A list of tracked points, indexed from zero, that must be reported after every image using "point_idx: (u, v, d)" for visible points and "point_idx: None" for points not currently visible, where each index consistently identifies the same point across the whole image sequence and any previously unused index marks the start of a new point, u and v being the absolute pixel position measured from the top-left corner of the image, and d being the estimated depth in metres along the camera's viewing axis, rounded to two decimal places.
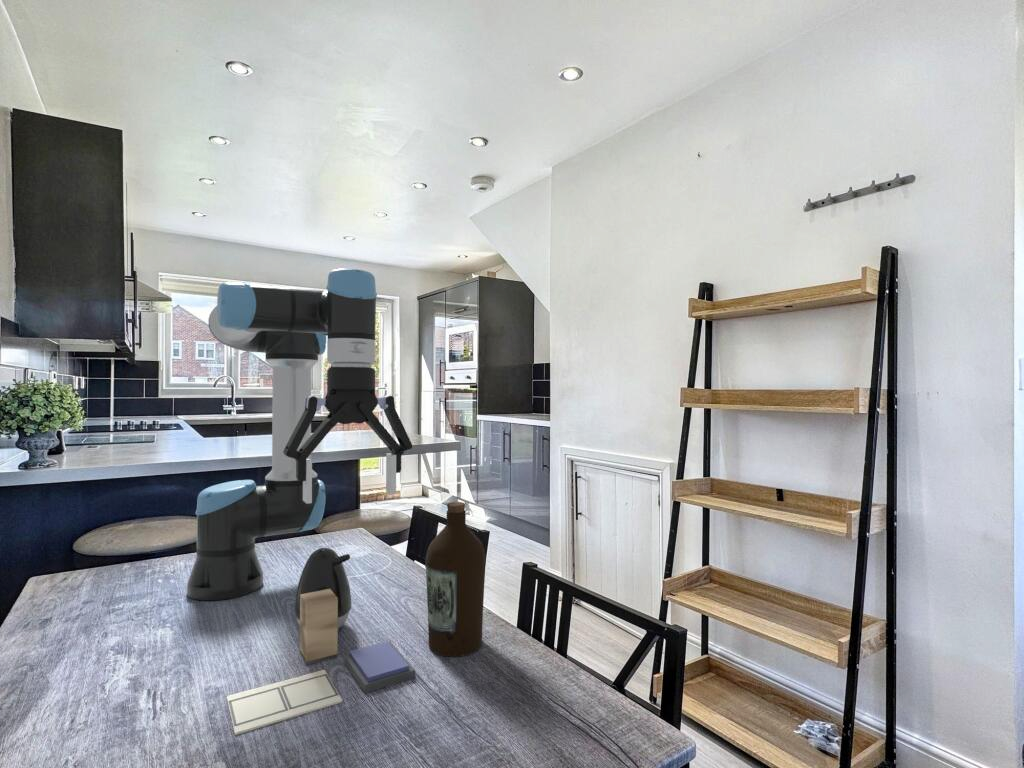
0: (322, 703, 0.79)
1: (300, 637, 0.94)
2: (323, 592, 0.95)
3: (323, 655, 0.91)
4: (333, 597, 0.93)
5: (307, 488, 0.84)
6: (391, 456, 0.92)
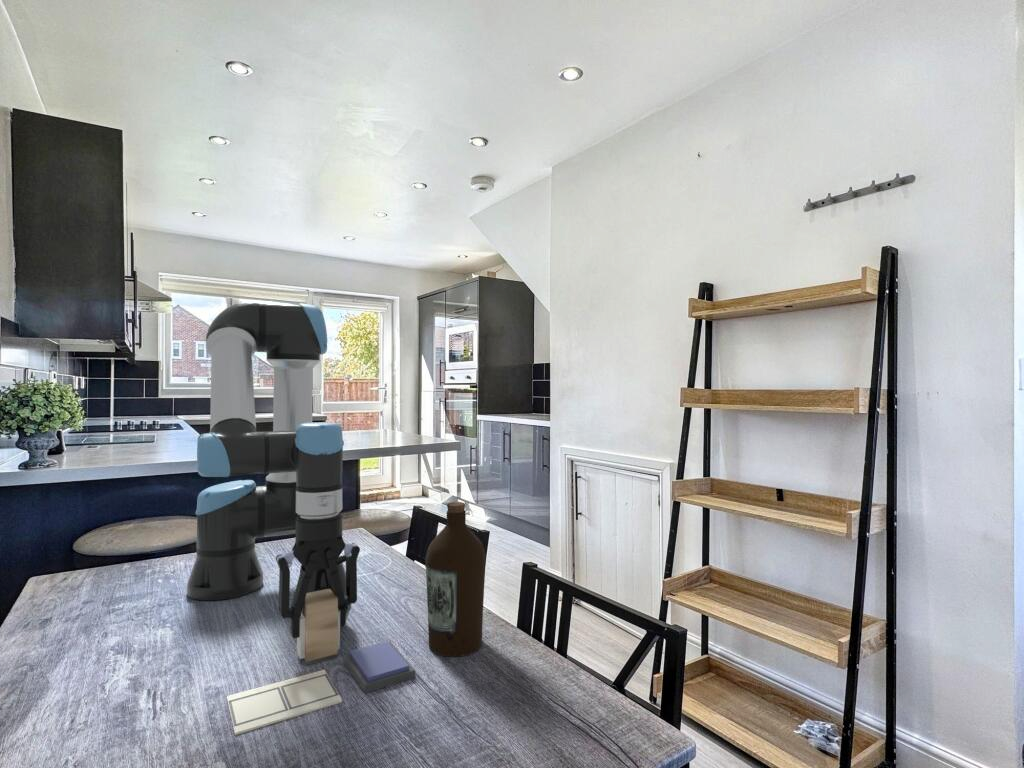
0: (322, 703, 0.79)
1: None
2: (323, 592, 0.95)
3: (323, 655, 0.91)
4: (333, 597, 0.93)
5: (301, 644, 0.90)
6: None
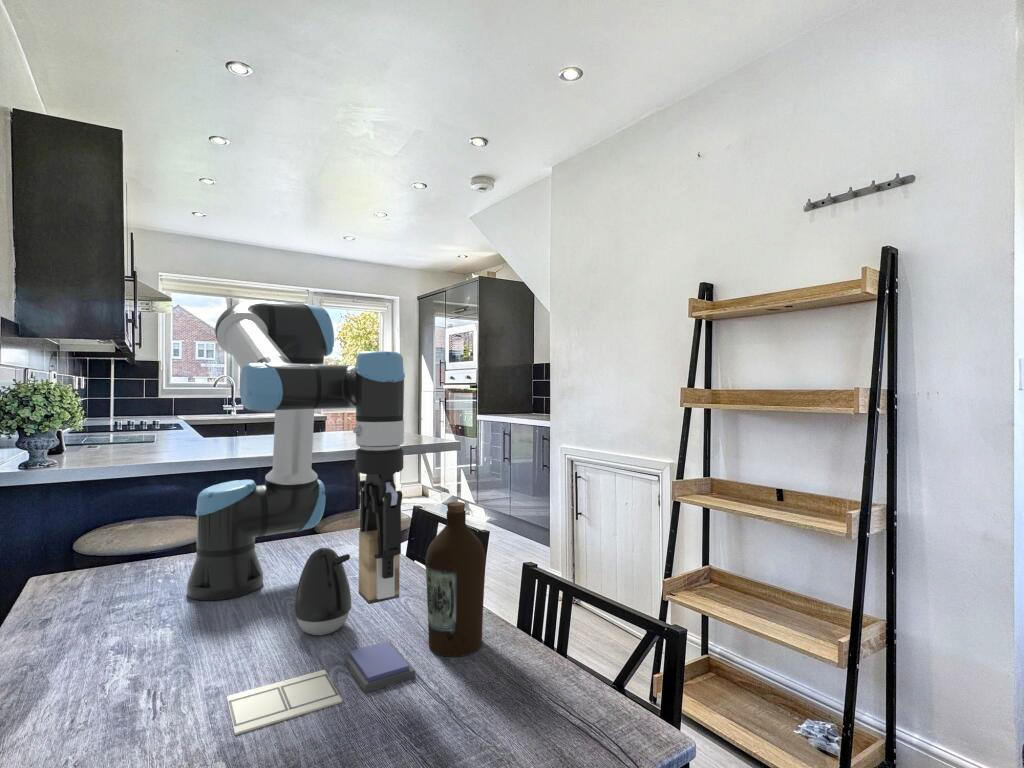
0: (322, 703, 0.79)
1: None
2: None
3: (364, 593, 0.87)
4: (370, 538, 0.86)
5: None
6: (378, 557, 0.86)
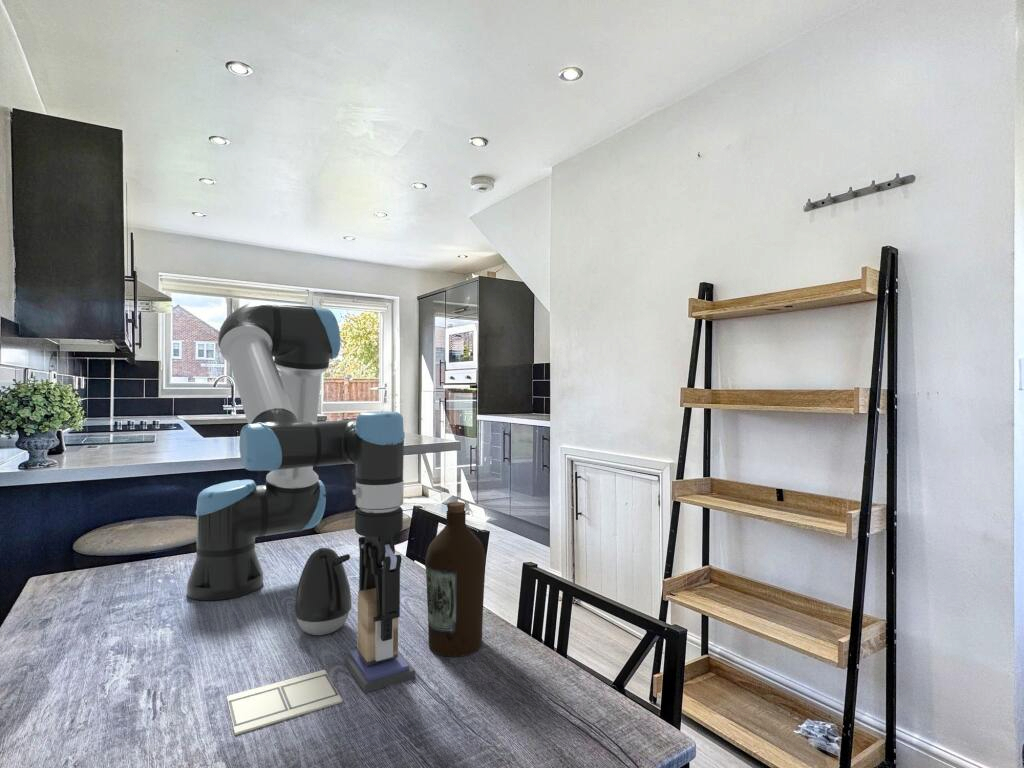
0: (322, 703, 0.79)
1: None
2: None
3: (362, 653, 0.87)
4: (369, 600, 0.86)
5: None
6: None
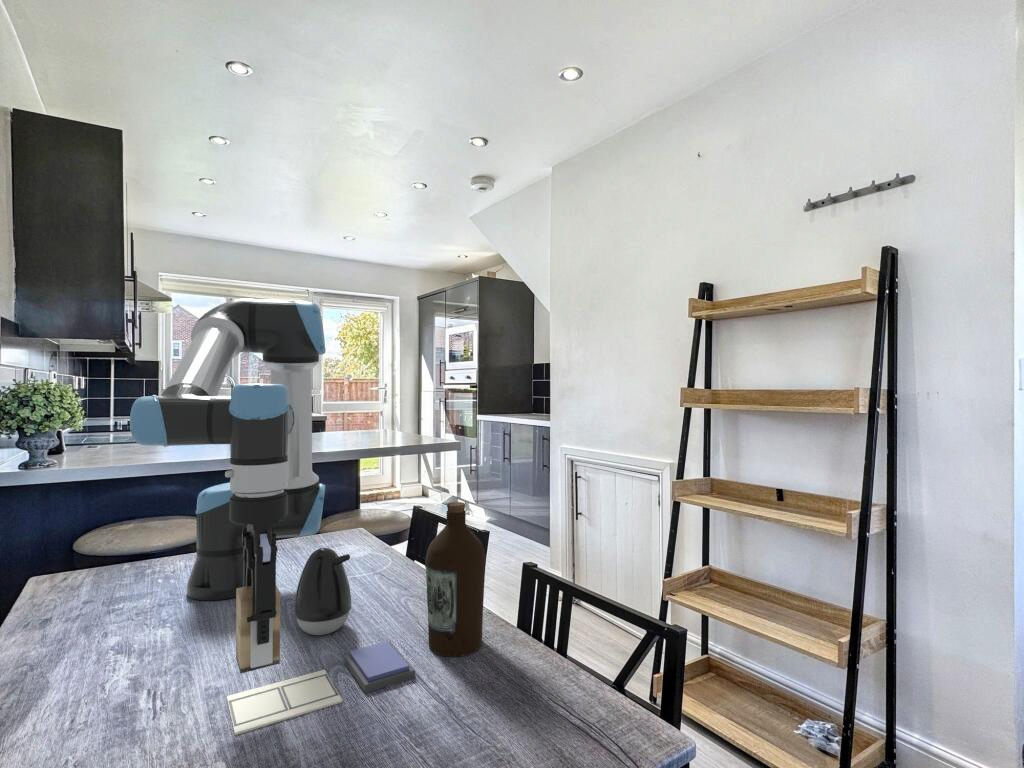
0: (322, 703, 0.79)
1: None
2: None
3: (238, 659, 0.76)
4: (244, 597, 0.75)
5: None
6: None
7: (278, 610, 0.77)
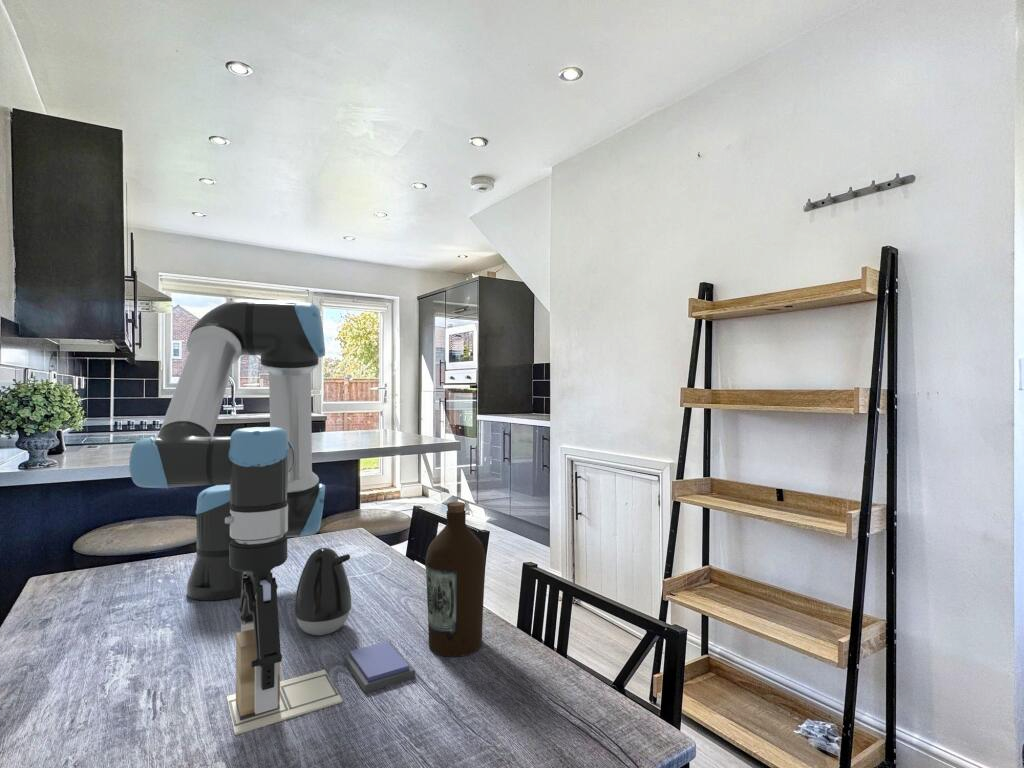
0: (322, 703, 0.79)
1: None
2: None
3: (238, 705, 0.77)
4: (244, 644, 0.75)
5: None
6: None
7: None
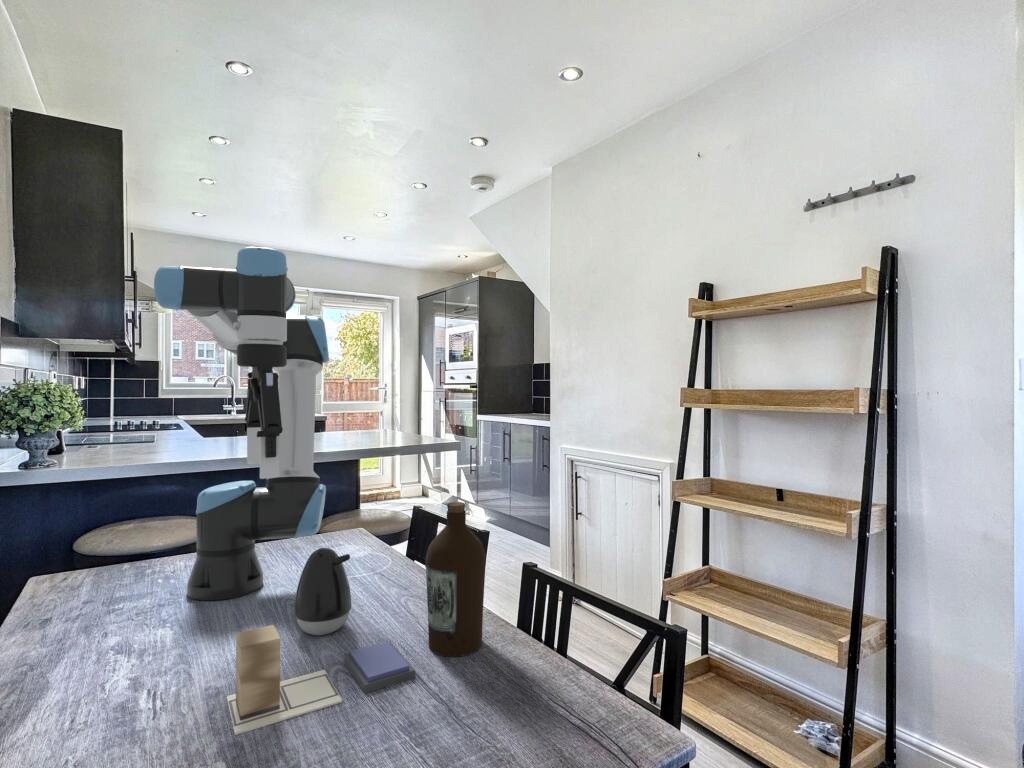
0: (322, 703, 0.79)
1: None
2: (269, 636, 0.78)
3: (238, 705, 0.77)
4: (244, 644, 0.75)
5: None
6: None
7: (278, 656, 0.77)
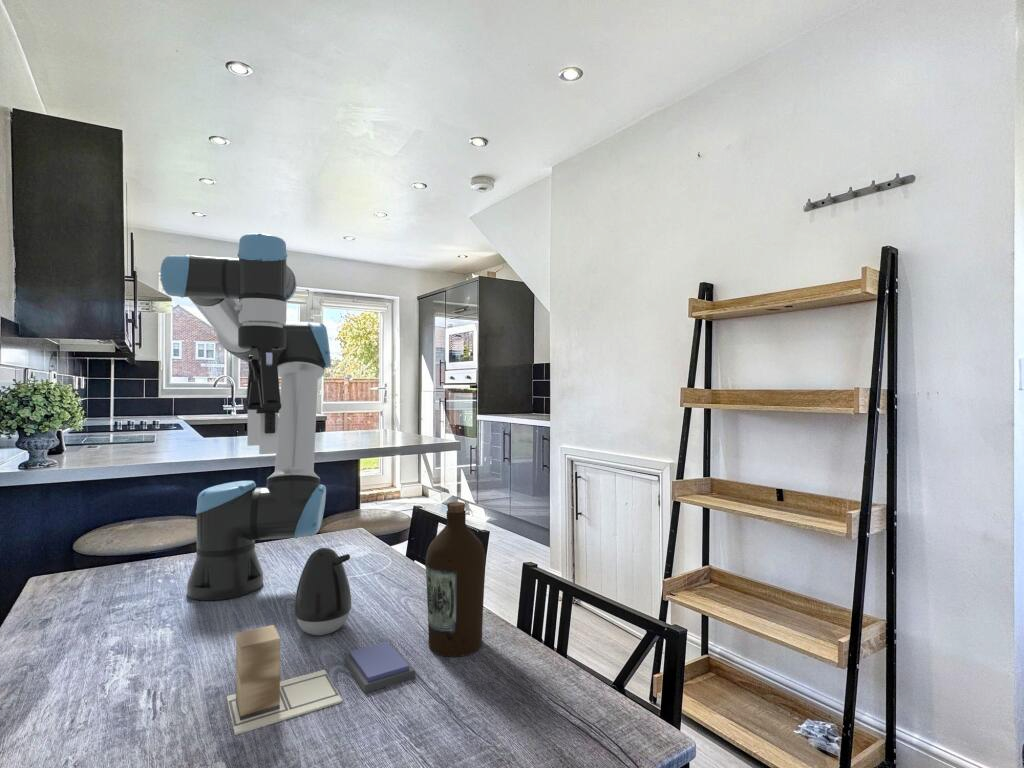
0: (322, 703, 0.79)
1: None
2: (269, 636, 0.78)
3: (238, 705, 0.77)
4: (244, 644, 0.75)
5: None
6: None
7: (278, 656, 0.77)
